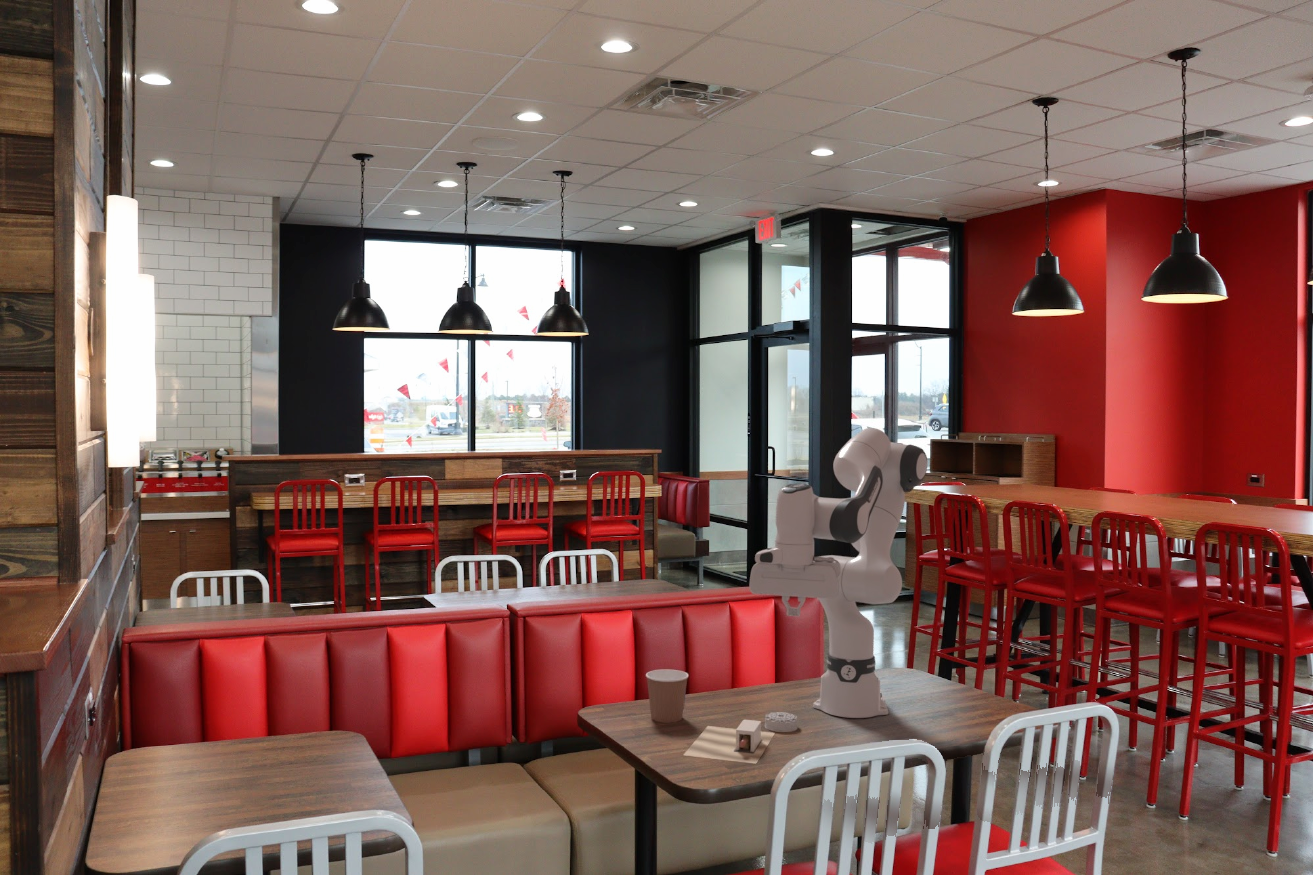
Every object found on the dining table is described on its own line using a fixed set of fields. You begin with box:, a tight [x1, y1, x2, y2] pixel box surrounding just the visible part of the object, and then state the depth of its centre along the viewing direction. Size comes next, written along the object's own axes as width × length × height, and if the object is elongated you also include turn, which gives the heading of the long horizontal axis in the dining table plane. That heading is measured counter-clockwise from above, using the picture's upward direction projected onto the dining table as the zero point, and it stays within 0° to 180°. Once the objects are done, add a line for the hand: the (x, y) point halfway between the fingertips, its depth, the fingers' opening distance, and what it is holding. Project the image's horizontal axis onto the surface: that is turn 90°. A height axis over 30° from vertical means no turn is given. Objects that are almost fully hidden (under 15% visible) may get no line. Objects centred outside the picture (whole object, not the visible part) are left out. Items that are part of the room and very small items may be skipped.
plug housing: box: [735, 719, 762, 752], centre depth 225 cm, size 11×4×4 cm, turn 163°
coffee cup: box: [645, 668, 689, 724], centre depth 247 cm, size 10×10×12 cm
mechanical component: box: [764, 711, 798, 733], centre depth 241 cm, size 10×4×10 cm
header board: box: [682, 725, 776, 765], centre depth 228 cm, size 22×16×4 cm
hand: (793, 615), depth 233 cm, fingers closed
